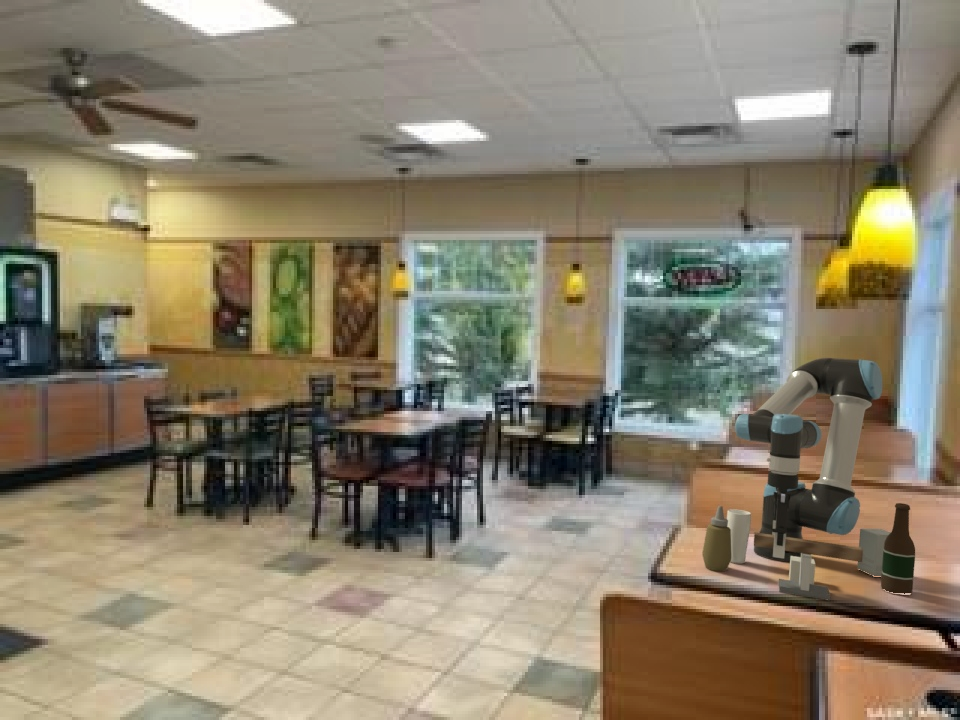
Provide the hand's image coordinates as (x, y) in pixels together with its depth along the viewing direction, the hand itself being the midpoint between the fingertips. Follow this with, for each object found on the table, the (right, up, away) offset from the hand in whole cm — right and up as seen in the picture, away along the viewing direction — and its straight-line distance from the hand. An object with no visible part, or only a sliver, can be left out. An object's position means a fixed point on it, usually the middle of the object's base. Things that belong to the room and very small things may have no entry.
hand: (777, 551), depth 191 cm
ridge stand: (+6, -10, -2) cm, 12 cm away
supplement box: (+37, -12, +19) cm, 43 cm away
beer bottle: (+34, -12, +3) cm, 36 cm away
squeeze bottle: (-12, -9, +14) cm, 20 cm away
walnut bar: (+7, 0, -2) cm, 7 cm away
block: (+10, -10, +7) cm, 16 cm away
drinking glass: (-3, -9, +22) cm, 24 cm away
